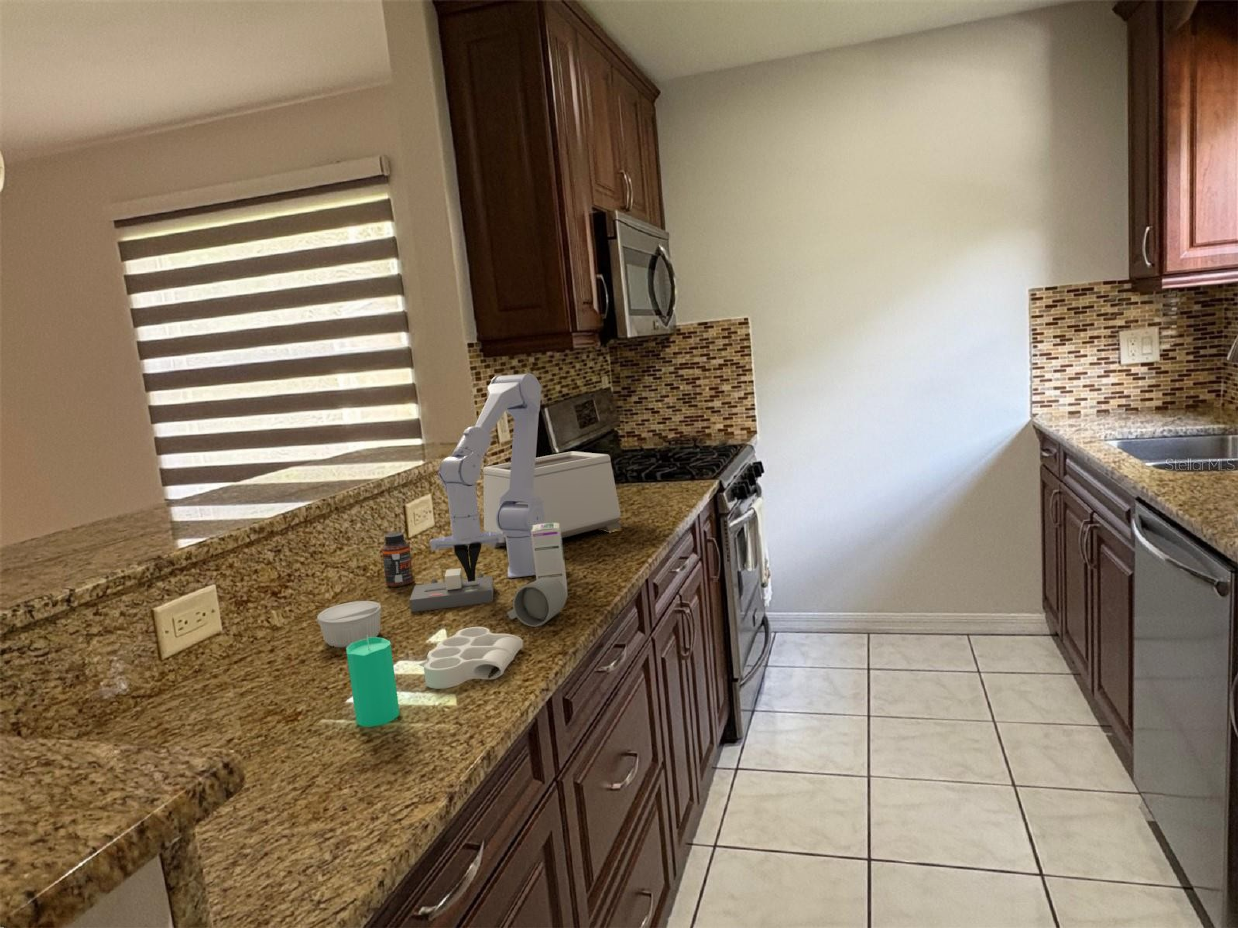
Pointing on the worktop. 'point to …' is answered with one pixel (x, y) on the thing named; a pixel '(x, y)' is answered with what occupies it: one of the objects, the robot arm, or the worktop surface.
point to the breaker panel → (451, 594)
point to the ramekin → (350, 622)
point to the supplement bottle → (397, 560)
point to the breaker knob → (453, 579)
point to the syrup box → (548, 552)
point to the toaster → (561, 492)
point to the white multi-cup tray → (469, 657)
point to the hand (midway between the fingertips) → (471, 580)
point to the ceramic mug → (538, 601)
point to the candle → (373, 681)
